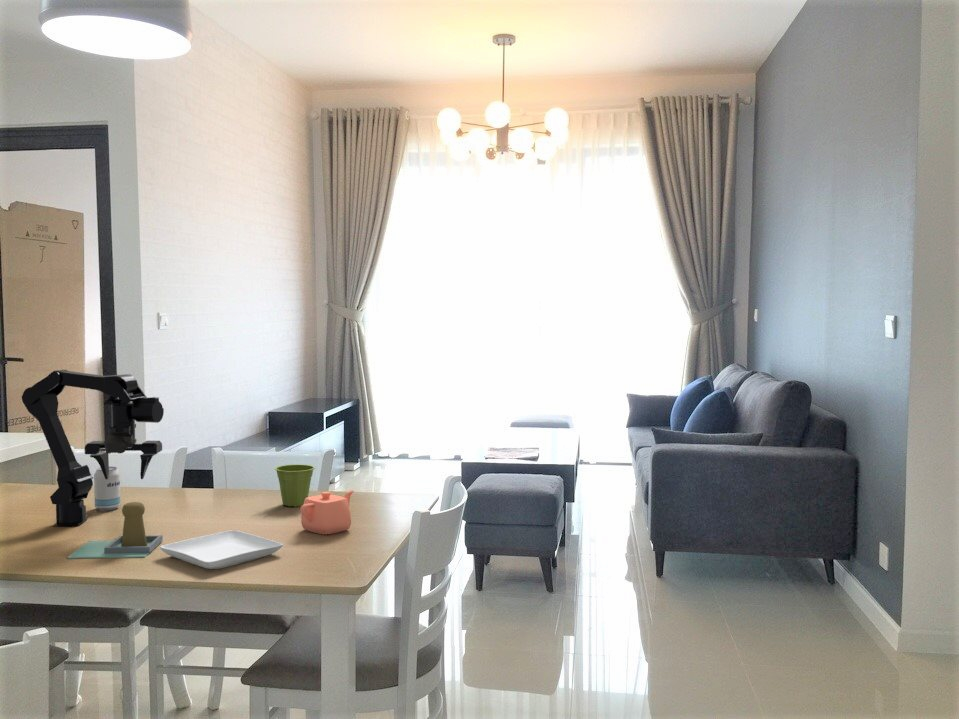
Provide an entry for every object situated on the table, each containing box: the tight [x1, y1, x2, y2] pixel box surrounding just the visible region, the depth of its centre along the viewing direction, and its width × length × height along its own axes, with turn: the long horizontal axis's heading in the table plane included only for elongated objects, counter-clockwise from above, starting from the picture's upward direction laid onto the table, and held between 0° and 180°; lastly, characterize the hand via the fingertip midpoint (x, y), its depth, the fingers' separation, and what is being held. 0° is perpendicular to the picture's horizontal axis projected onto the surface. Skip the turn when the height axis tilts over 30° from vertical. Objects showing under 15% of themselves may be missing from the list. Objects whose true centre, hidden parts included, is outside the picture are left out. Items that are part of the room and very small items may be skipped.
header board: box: [66, 534, 164, 559], centre depth 210 cm, size 18×14×2 cm
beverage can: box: [93, 466, 121, 512], centre depth 251 cm, size 7×7×12 cm
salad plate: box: [159, 529, 284, 570], centre depth 205 cm, size 21×21×3 cm
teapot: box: [299, 489, 355, 536], centre depth 230 cm, size 12×18×10 cm, turn 139°
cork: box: [121, 501, 147, 547], centre depth 211 cm, size 6×6×11 cm
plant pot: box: [274, 464, 316, 507], centre depth 258 cm, size 12×12×11 cm
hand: (124, 479), depth 231 cm, fingers open, 9 cm apart
